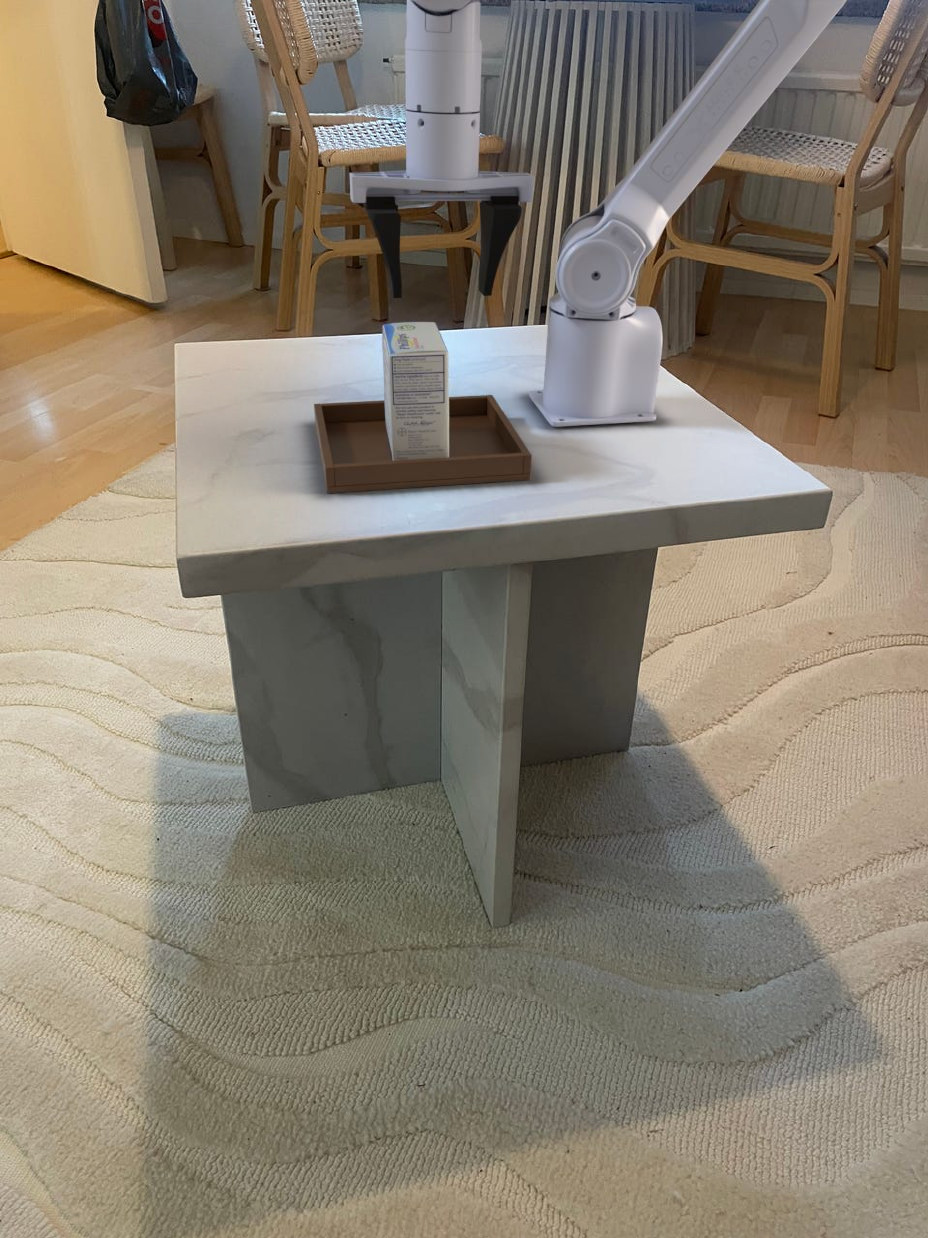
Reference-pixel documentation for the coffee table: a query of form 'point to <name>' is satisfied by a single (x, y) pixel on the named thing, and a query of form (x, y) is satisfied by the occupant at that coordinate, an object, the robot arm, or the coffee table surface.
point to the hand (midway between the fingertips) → (440, 294)
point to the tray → (366, 463)
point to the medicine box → (416, 390)
